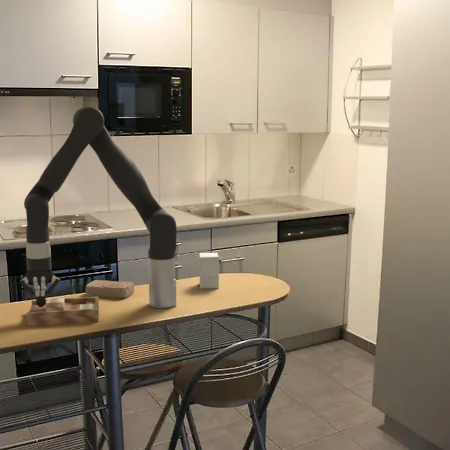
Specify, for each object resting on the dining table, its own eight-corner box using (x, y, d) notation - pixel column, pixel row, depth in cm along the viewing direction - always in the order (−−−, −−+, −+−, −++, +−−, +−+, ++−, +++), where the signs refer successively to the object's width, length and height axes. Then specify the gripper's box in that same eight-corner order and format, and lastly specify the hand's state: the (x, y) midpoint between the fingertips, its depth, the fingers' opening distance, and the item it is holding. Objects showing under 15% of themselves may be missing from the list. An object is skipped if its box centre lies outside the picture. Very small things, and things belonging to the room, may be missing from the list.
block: (64, 306, 204) (64, 297, 204) (63, 310, 200) (63, 302, 199) (47, 306, 203) (47, 298, 203) (46, 311, 199) (45, 303, 198)
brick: (84, 296, 226) (84, 284, 225) (94, 290, 234) (94, 278, 233) (126, 300, 222) (125, 287, 221) (135, 293, 230) (135, 281, 229)
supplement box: (217, 283, 243) (218, 252, 240) (218, 288, 235) (219, 256, 233) (199, 283, 242) (199, 252, 240) (199, 288, 235) (199, 256, 233)
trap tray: (98, 308, 212) (98, 296, 211) (98, 321, 198) (98, 309, 197) (32, 312, 208) (31, 300, 207) (27, 326, 194) (26, 313, 193)
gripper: (60, 251, 202) (62, 302, 206) (18, 253, 200) (21, 304, 203) (59, 257, 195) (61, 309, 198) (15, 258, 193) (18, 311, 196)
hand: (41, 306), depth 201 cm, fingers closed
